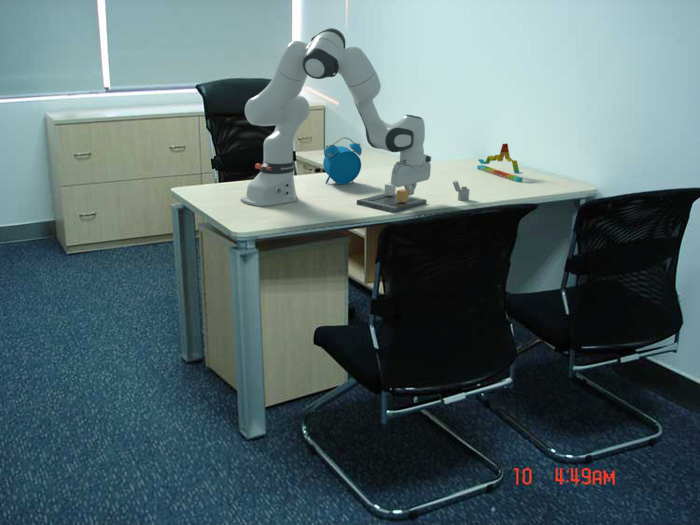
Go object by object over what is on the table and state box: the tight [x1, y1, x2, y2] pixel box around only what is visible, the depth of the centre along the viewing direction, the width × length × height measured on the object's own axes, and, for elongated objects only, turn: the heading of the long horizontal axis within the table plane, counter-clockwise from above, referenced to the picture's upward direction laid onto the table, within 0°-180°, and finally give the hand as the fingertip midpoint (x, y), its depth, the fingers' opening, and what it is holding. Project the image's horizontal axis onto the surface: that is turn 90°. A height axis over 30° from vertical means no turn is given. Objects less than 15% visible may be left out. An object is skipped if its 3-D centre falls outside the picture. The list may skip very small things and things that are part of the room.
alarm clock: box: [322, 136, 362, 185], centre depth 316 cm, size 17×10×20 cm, turn 116°
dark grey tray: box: [356, 192, 427, 214], centre depth 287 cm, size 20×18×2 cm
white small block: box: [383, 182, 397, 196], centre depth 293 cm, size 3×3×4 cm
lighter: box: [452, 180, 470, 202], centre depth 294 cm, size 7×2×8 cm, turn 117°
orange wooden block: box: [396, 189, 408, 202], centre depth 283 cm, size 3×3×4 cm
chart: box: [476, 143, 524, 183], centre depth 340 cm, size 30×3×15 cm, turn 25°
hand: (409, 194), depth 287 cm, fingers closed
